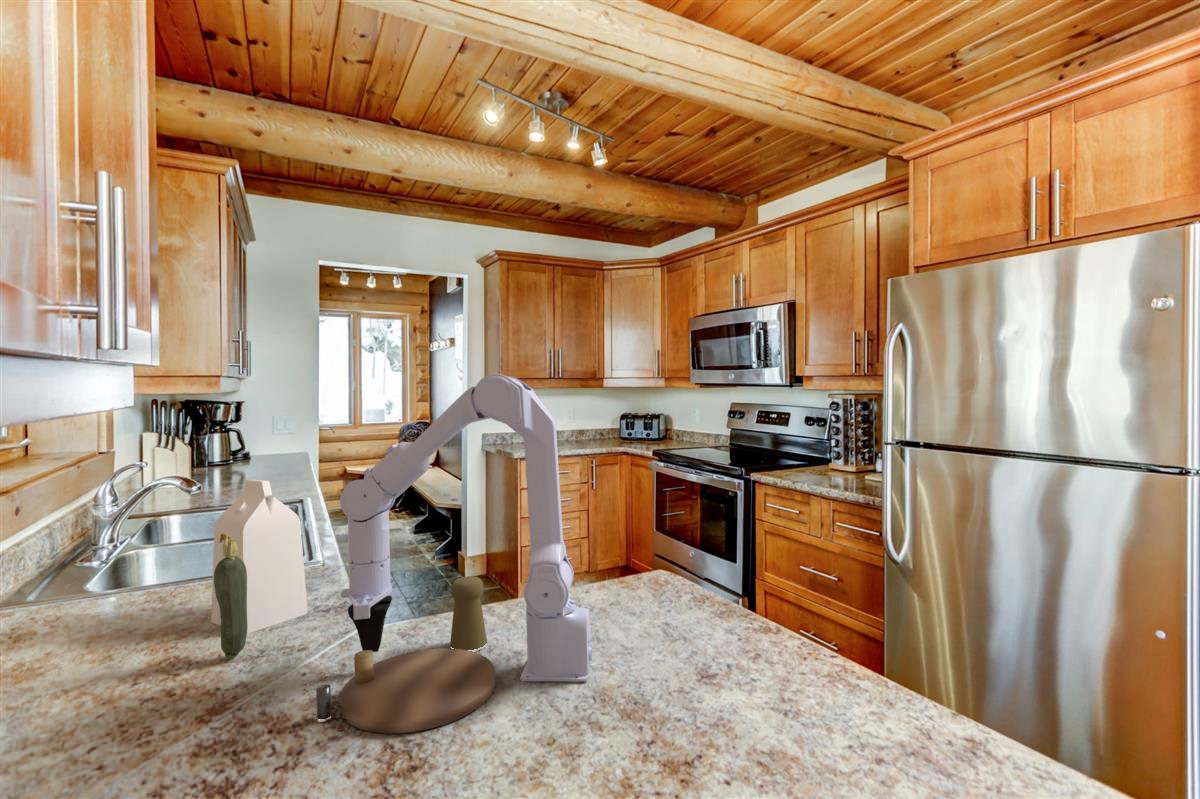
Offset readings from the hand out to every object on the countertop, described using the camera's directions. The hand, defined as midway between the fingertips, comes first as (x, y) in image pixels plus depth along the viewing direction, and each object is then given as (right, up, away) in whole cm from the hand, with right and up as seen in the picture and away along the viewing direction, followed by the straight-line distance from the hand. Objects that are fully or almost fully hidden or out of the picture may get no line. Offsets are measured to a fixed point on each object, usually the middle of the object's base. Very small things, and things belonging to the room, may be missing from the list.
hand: (371, 650), depth 85 cm
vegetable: (-24, -4, +5) cm, 24 cm away
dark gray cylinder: (+7, -3, -7) cm, 11 cm away
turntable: (+10, -3, -7) cm, 12 cm away
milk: (-30, -4, +23) cm, 38 cm away
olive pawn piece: (+13, -3, +8) cm, 15 cm away
